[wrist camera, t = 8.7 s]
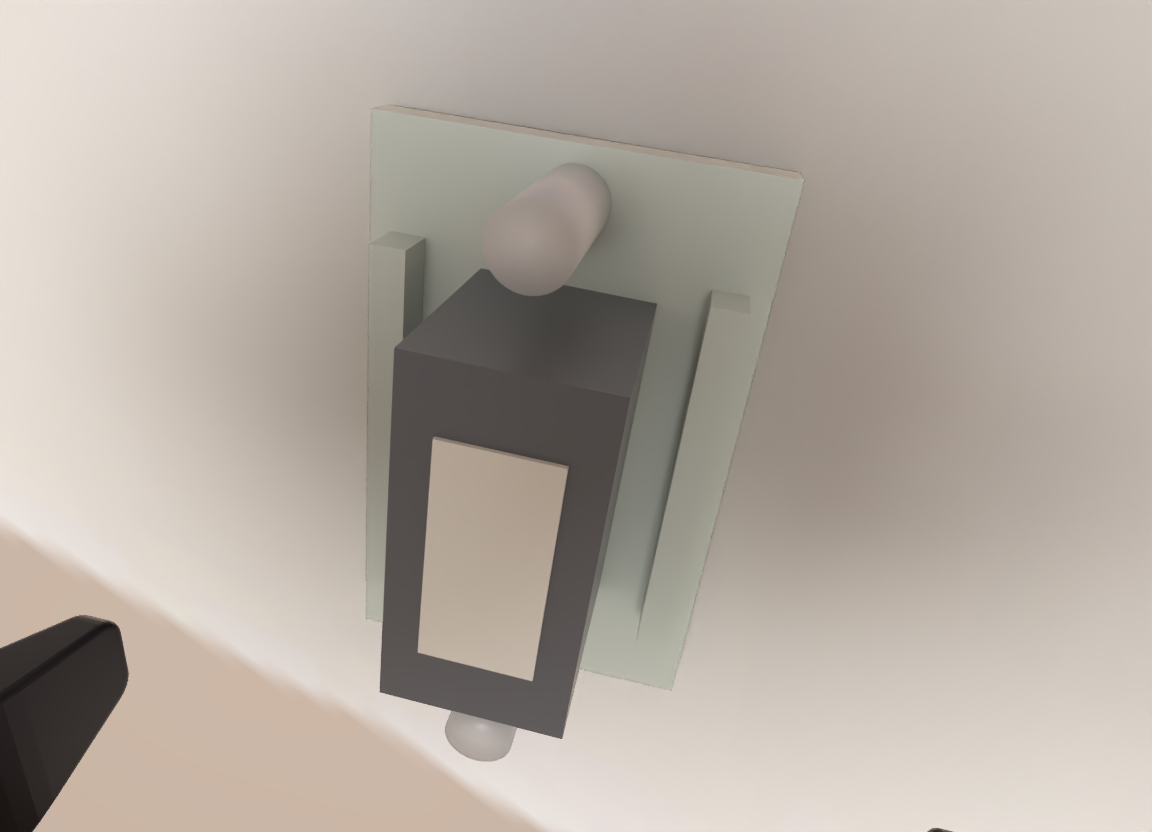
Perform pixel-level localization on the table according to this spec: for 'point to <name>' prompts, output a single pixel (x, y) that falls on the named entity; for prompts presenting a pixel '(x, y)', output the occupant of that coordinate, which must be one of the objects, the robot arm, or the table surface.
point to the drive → (505, 494)
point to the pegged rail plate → (604, 264)
